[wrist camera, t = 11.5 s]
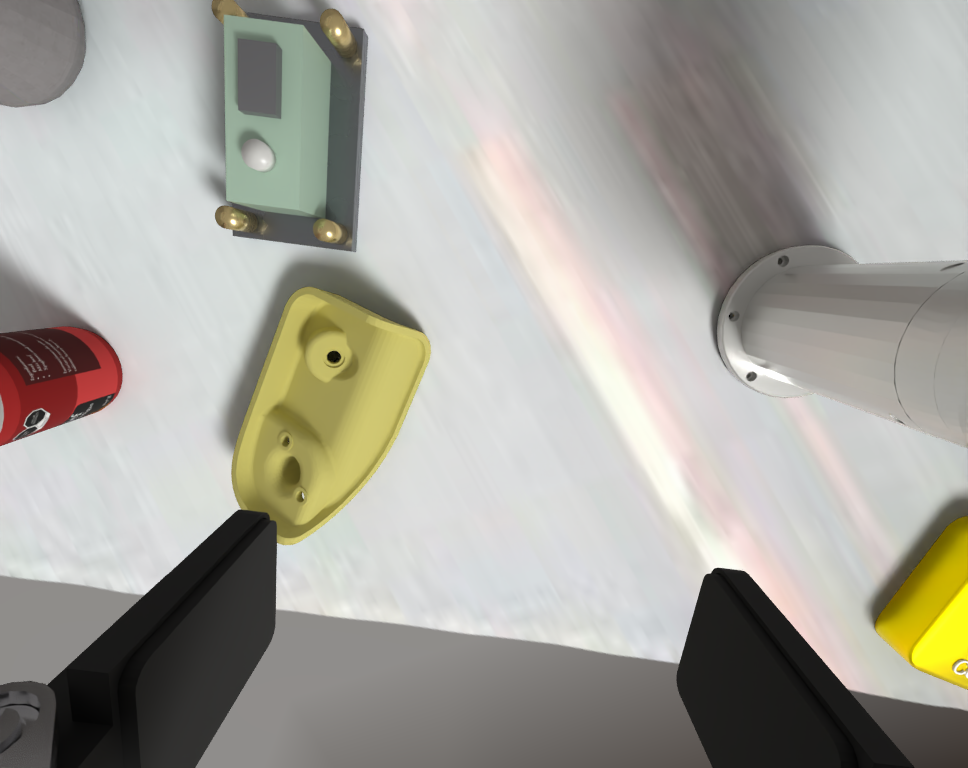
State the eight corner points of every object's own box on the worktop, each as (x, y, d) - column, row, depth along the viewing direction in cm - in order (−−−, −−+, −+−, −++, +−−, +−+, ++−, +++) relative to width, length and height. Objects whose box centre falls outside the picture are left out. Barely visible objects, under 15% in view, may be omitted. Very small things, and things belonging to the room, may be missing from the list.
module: (331, 62, 33) (296, 16, 27) (325, 219, 35) (292, 208, 30) (263, 53, 33) (213, 5, 27) (262, 210, 35) (217, 198, 30)
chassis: (367, 37, 33) (350, 4, 29) (356, 251, 37) (339, 249, 33) (240, 19, 33) (205, -16, 29) (240, 236, 37) (210, 232, 33)
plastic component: (295, 277, 36) (389, 325, 32) (355, 296, 42) (438, 337, 39) (217, 492, 39) (295, 558, 35) (285, 477, 45) (356, 531, 42)
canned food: (49, 410, 41) (-107, 457, 30) (32, 323, 39) (-141, 341, 28) (132, 413, 41) (5, 462, 30) (118, 326, 39) (-22, 345, 28)
